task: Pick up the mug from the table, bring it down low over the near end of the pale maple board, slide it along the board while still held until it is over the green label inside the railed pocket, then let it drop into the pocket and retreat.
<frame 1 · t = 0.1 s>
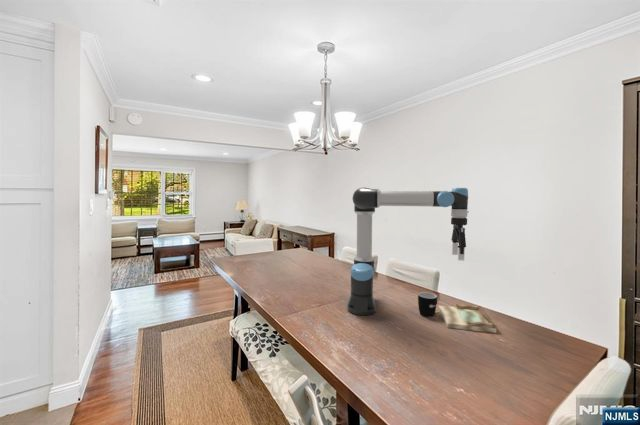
hand: (457, 257, 144), 28 cm above the table, fingers open, 13 cm apart
mug: (428, 314, 139), on the table
board: (464, 319, 132), on the table
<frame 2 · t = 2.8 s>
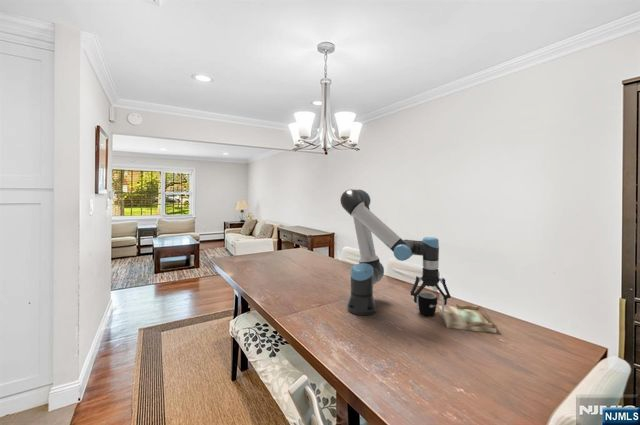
hand: (429, 309, 139), 2 cm above the table, fingers open, 12 cm apart
mug: (428, 314, 139), on the table, touching gripper
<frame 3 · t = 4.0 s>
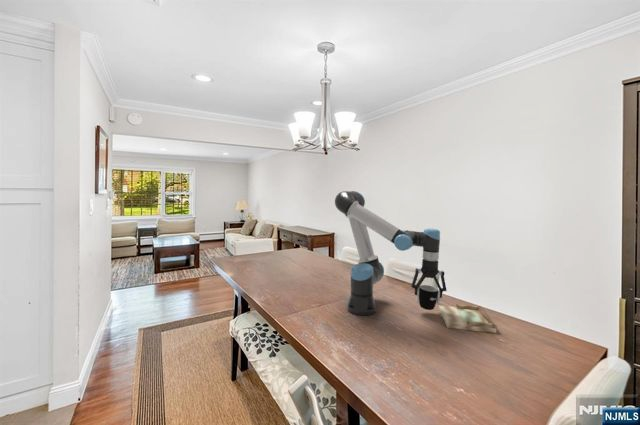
hand: (427, 302, 139), 6 cm above the table, fingers closed on mug, 9 cm apart
mug: (428, 307, 139), point 3 cm above the table, touching gripper
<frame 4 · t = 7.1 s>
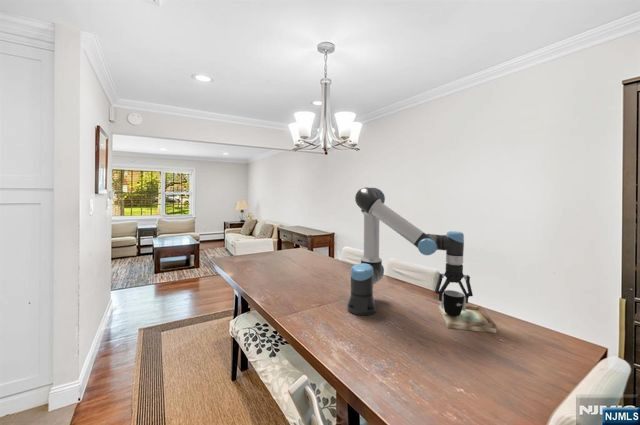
hand: (452, 308, 133), 5 cm above the table, fingers closed on mug, 9 cm apart
mug: (454, 313, 133), point 3 cm above the table, touching gripper
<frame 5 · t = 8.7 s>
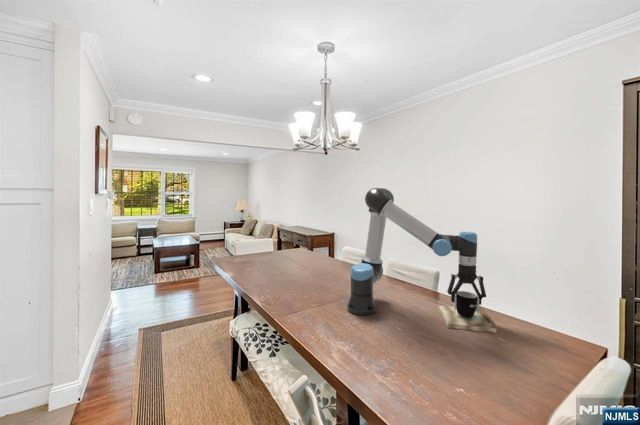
hand: (465, 309, 132), 5 cm above the table, fingers closed on mug, 9 cm apart
mug: (467, 314, 132), point 3 cm above the table, touching gripper
when the fingers open (5 cm above the table, at t = 10.2 s): mug stays where it is, resting on board.
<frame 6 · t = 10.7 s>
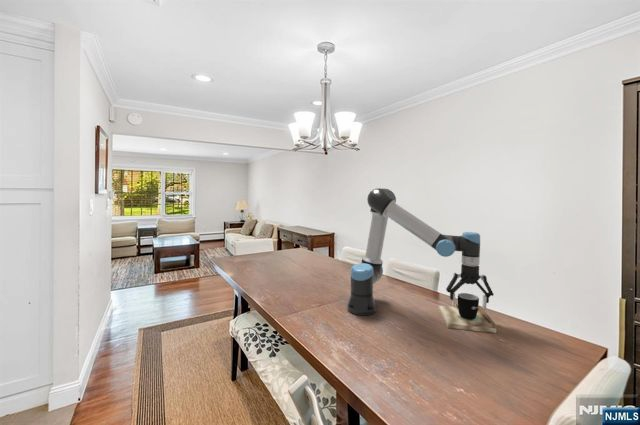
hand: (468, 307, 131), 6 cm above the table, fingers open, 13 cm apart
mug: (469, 316, 132), point 2 cm above the table, touching board
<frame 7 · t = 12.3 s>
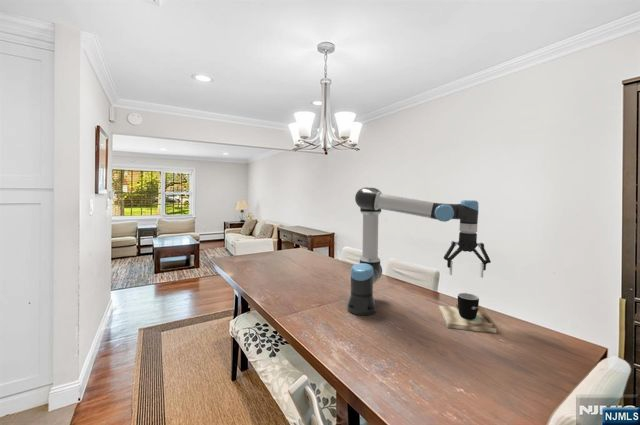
hand: (465, 275, 132), 22 cm above the table, fingers open, 13 cm apart
nothing on the table moved.
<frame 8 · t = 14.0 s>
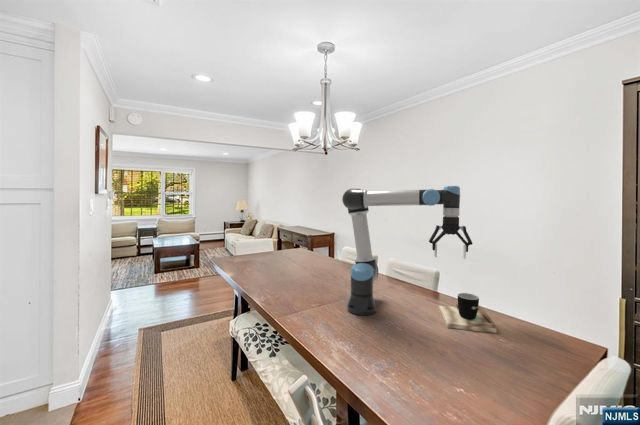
hand: (449, 257, 140), 29 cm above the table, fingers open, 13 cm apart
nothing on the table moved.
at the end: mug inside the target area (1.1 cm from its centre), point 1.9 cm above the table; mug tilted 0°; the gripper is holding nothing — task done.
